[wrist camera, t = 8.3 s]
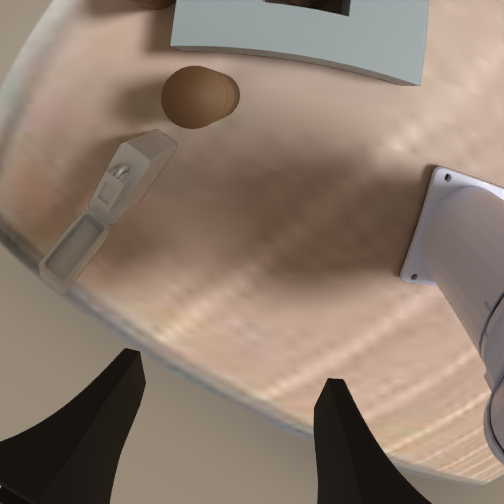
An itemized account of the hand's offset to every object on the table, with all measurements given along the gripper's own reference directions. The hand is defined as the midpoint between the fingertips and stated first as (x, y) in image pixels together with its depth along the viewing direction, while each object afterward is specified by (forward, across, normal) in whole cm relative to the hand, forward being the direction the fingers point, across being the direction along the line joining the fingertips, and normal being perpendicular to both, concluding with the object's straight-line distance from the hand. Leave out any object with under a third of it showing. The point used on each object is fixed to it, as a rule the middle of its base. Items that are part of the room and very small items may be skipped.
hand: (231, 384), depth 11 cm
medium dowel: (+10, +3, -10) cm, 14 cm away
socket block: (+10, -1, -16) cm, 19 cm away
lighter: (+10, +8, -4) cm, 13 cm away
